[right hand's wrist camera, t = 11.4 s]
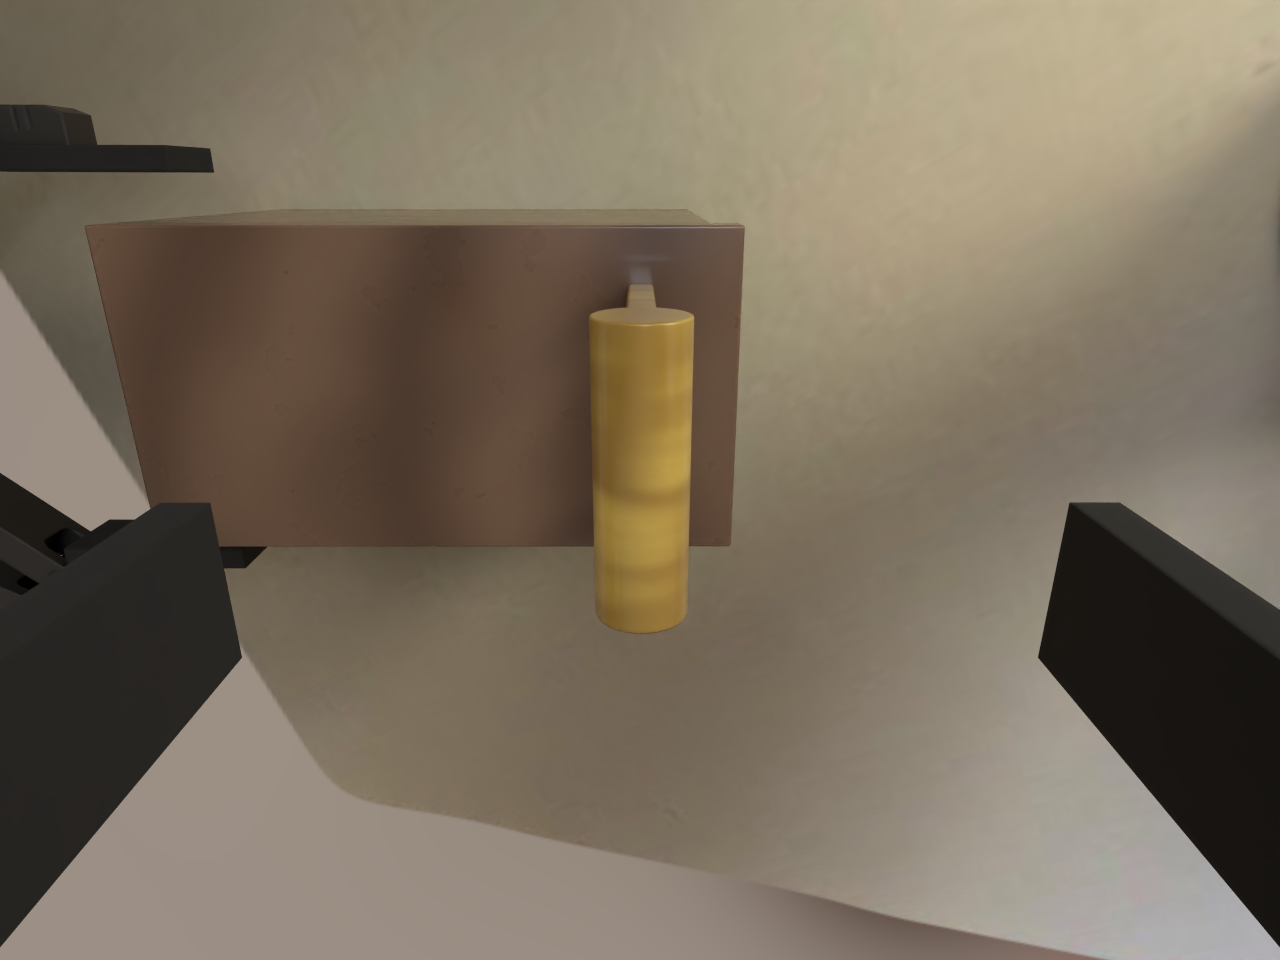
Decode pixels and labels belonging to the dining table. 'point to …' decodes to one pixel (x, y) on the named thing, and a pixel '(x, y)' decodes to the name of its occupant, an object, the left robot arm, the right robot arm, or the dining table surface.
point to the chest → (445, 216)
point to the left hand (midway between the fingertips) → (230, 367)
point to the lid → (440, 386)
